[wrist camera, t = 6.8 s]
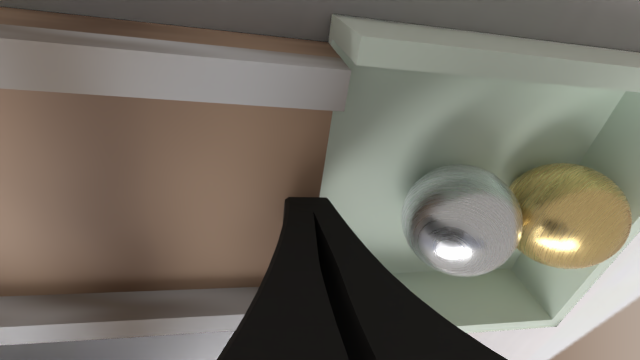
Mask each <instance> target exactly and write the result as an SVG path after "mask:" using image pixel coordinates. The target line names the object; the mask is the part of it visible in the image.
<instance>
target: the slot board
mask: <svg viewBox="0 0 640 360" xmlns="http://www.w3.org/2000/svg"><path fill="white" fill-rule="evenodd" d="M350 76H351V70H350V68H349V67H348V66H347V65H346V63H345V62H344V61H343V60H342V59H341V57H340V56H339V55H338V54H337V52H336V51H335V50H334V49H333V47H332V46H331V45H330V44H329V43H328V42H321V41H312V40H303V39H294V38H285V37H275V36H266V35H257V34H248V33H238V32H229V31H220V30H211V29H202V28H192V27H183V26H174V25H165V24H155V23H146V22H137V21H128V20H119V19H109V18H100V17H91V16H82V15H73V14H63V13H54V12H45V11H36V10H26V9H17V8H8V7H0V346H1V345H17V344H33V343H50V342H66V341H82V340H98V339H114V338H130V337H146V336H162V335H178V334H194V333H210V332H226V331H235V330H236V329H237V327H238V325H239V324H240V322H241V320H242V319H243V317H244V315H245V313H246V311H247V309H248V308H249V306H250V304H251V302H252V300H253V298H254V297H255V295H256V293H257V291H258V289H259V286H260V284H261V282H262V280H263V278H264V276H265V274H266V271H267V269H268V267H269V264H270V262H271V259H272V256H273V254H274V251H275V249H276V246H277V243H278V240H279V236H280V233H281V229H282V226H283V214H284V202H285V199H287V198H288V197H319V196H320V190H321V183H322V177H323V171H324V164H325V158H326V151H327V145H328V138H329V132H330V126H331V119H332V113H333V111H343V112H344V110H345V104H346V99H347V93H348V87H349V81H350Z"/></svg>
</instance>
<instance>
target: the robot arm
mask: <svg viewBox="0 0 640 360" xmlns="http://www.w3.org/2000/svg"><path fill="white" fill-rule="evenodd" d="M217 360H507V359H506V358H504V357H502V356H501V355H499V354H498V353H496V352H494V351H493V350H491V349H489V348H488V347H486V346H485V345H483V344H482V343H480V342H479V341H477V340H476V339H474V338H473V337H471V336H470V335H468V334H467V333H465V332H464V331H462V330H461V329H459V328H458V327H457V326H455V325H454V324H452V323H451V322H450V321H448V320H447V319H446V318H444V317H443V316H442V315H440V314H439V313H438V312H436V311H435V310H434V309H433V308H431V307H430V306H429V305H427V304H426V303H425V302H424V301H422V300H421V299H420V298H419V297H417V296H416V295H415V294H414V293H413V292H411V291H410V290H409V289H408V288H407V287H406V286H405V285H404V284H402V283H401V282H400V281H399V280H398V279H397V278H396V277H395V276H394V275H393V274H391V273H390V272H389V271H388V270H387V269H386V268H385V267H384V266H383V265H382V263H381V262H380V261H379V260H378V259H377V258H376V257H375V256H374V255H373V254H372V253H371V252H370V251H369V249H368V248H367V247H366V246H365V245H364V244H363V243H362V241H361V240H360V239H359V238H358V237H357V235H356V234H355V233H354V232H353V231H352V229H351V228H350V227H349V226H348V224H347V223H346V222H345V220H344V219H343V218H342V217H341V215H340V214H339V213H338V211H337V210H336V209H335V207H334V206H333V204H332V203H331V202H330V200H329V199H328V198H327V197H288V198H287V199H285V202H284V214H283V226H282V229H281V233H280V236H279V240H278V243H277V246H276V249H275V251H274V254H273V256H272V259H271V262H270V264H269V267H268V269H267V271H266V274H265V276H264V278H263V280H262V282H261V284H260V286H259V289H258V291H257V293H256V295H255V297H254V298H253V300H252V302H251V304H250V306H249V308H248V309H247V311H246V313H245V315H244V317H243V319H242V320H241V322H240V324H239V325H238V327H237V329H236V330H235V332H234V333H233V335H232V337H231V338H230V340H229V341H228V343H227V344H226V346H225V348H224V349H223V351H222V352H221V354H220V355H219V357H218V359H217Z"/></svg>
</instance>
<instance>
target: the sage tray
mask: <svg viewBox="0 0 640 360" xmlns="http://www.w3.org/2000/svg"><path fill="white" fill-rule="evenodd" d="M328 43H329V44H330V45H331V46H332V47H333V49H334V50H335V51H336V52H337V54H338V55H339V56H340V57H341V59H342V60H343V61H344V62H345V63H346V65H347V66H348V67H349V68H350V70H351V76H350V81H349V87H348V93H347V99H346V104H345V110H344V112H343V111H333V113H332V119H331V126H330V132H329V138H328V145H327V151H326V158H325V164H324V171H323V177H322V183H321V190H320V196H319V197H327V198H328V199H329V200H330V202H331V203H332V204H333V206H334V207H335V209H336V210H337V211H338V213H339V214H340V215H341V217H342V218H343V219H344V220H345V222H346V223H347V224H348V226H349V227H350V228H351V229H352V231H353V232H354V233H355V234H356V235H357V237H358V238H359V239H360V240H361V241H362V243H363V244H364V245H365V246H366V247H367V248H368V249H369V251H370V252H371V253H372V254H373V255H374V256H375V257H376V258H377V259H378V260H379V261H380V262H381V263H382V265H383V266H384V267H385V268H386V269H387V270H388V271H389V272H390V273H391V274H393V275H394V276H395V277H396V278H397V279H398V280H399V281H400V282H401V283H402V284H404V285H405V286H406V287H407V288H408V289H409V290H410V291H411V292H413V293H414V294H415V295H416V296H417V297H419V298H420V299H421V300H422V301H424V302H425V303H426V304H427V305H429V306H430V307H431V308H433V309H434V310H435V311H436V312H438V313H439V314H440V315H442V316H443V317H444V318H446V319H447V320H448V321H450V322H451V323H452V324H454V325H455V326H457V327H458V328H459V329H461V330H462V331H464V332H465V333H477V332H491V331H504V330H518V329H531V328H545V327H557V325H558V324H559V323H560V322H561V321H562V320H563V319H564V317H565V316H566V315H567V314H568V313H569V312H570V311H571V309H572V308H573V307H574V306H575V305H576V304H577V303H578V301H579V300H580V299H581V298H582V297H583V296H584V295H585V293H586V292H587V291H588V290H589V289H590V288H591V287H592V285H593V284H594V283H595V282H596V281H597V280H598V279H599V277H600V276H601V275H602V274H603V273H604V272H605V271H606V269H607V268H608V267H609V266H610V265H611V264H612V263H613V261H614V260H615V259H616V258H617V257H618V256H619V255H620V253H621V252H622V251H623V250H624V249H625V248H626V247H627V245H628V244H629V243H630V242H631V241H632V240H633V239H634V237H635V236H636V235H637V234H638V233H639V232H640V53H639V52H631V51H623V50H615V49H607V48H599V47H592V46H584V45H576V44H568V43H560V42H552V41H544V40H536V39H528V38H520V37H512V36H504V35H496V34H488V33H480V32H472V31H464V30H457V29H449V28H441V27H433V26H425V25H417V24H409V23H401V22H393V21H385V20H377V19H369V18H361V17H353V16H345V15H337V14H332V17H331V25H330V32H329V40H328ZM553 163H570V164H577V165H582V166H586V167H589V168H592V169H594V170H596V171H598V172H600V173H602V174H603V175H605V176H607V177H608V178H610V179H611V180H612V181H613V182H614V183H616V185H617V186H618V187H619V188H620V189H621V190H622V192H623V193H624V195H625V196H626V198H627V200H628V203H629V205H630V209H631V213H632V225H631V230H630V233H629V236H628V238H627V240H626V242H625V244H624V245H623V246H622V248H621V249H620V250H619V251H618V252H617V253H616V254H614V255H613V256H612V257H610V258H609V259H607V260H605V261H604V262H602V263H599V264H596V265H594V266H590V267H586V268H579V269H562V268H555V267H551V266H547V265H544V264H541V263H539V262H536V261H534V260H532V259H530V258H529V257H527V256H526V255H524V254H523V253H522V252H520V251H519V250H518V249H517V248H516V250H515V251H514V253H513V254H512V256H511V257H510V258H509V259H508V260H507V261H506V262H505V263H504V264H502V265H501V266H500V267H498V268H497V269H495V270H493V271H491V272H489V273H486V274H483V275H479V276H473V277H457V276H451V275H447V274H444V273H441V272H439V271H437V270H434V269H432V268H431V267H429V266H428V265H426V264H425V263H423V262H422V261H421V260H420V259H419V258H418V257H417V256H416V255H415V254H414V252H413V251H412V250H411V248H410V247H409V245H408V243H407V241H406V239H405V236H404V233H403V229H402V222H401V214H402V207H403V203H404V200H405V198H406V195H407V193H408V192H409V190H410V189H411V187H412V186H413V185H414V184H415V182H416V181H418V180H419V179H420V178H421V177H422V176H424V175H425V174H427V173H428V172H430V171H432V170H434V169H437V168H440V167H443V166H448V165H456V164H462V165H471V166H475V167H479V168H482V169H485V170H487V171H489V172H491V173H493V174H494V175H496V176H497V177H499V178H500V179H501V180H502V181H503V182H505V183H506V184H507V185H508V187H509V186H510V185H511V184H512V183H513V182H514V181H515V180H516V179H517V178H518V177H519V176H521V175H522V174H523V173H525V172H527V171H529V170H531V169H533V168H536V167H539V166H542V165H546V164H553Z"/></svg>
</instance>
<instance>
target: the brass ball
mask: <svg viewBox="0 0 640 360" xmlns="http://www.w3.org/2000/svg"><path fill="white" fill-rule="evenodd" d="M509 188H510V189H511V190H512V192H513V193H514V195H515V196H516V198H517V200H518V202H519V205H520V208H521V212H522V217H523V228H522V235H521V239H520V242H519V244H518V246H517V249H518V250H519V251H520V252H522V253H523V254H524V255H526V256H527V257H529V258H530V259H532V260H534V261H536V262H539V263H541V264H544V265H547V266H551V267H555V268H562V269H579V268H586V267H590V266H594V265H596V264H599V263H602V262H604V261H605V260H607V259H609V258H610V257H612V256H613V255H614V254H616V253H617V252H618V251H619V250H620V249H621V248H622V246H623V245H624V244H625V242H626V240H627V238H628V236H629V233H630V230H631V225H632V213H631V209H630V205H629V203H628V200H627V198H626V196H625V195H624V193H623V192H622V190H621V189H620V188H619V187H618V186H617V185H616V183H614V182H613V181H612V180H611V179H610V178H608V177H607V176H605V175H603V174H602V173H600V172H598V171H596V170H594V169H592V168H589V167H586V166H582V165H577V164H570V163H553V164H546V165H542V166H539V167H536V168H533V169H531V170H529V171H527V172H525V173H523V174H522V175H521V176H519V177H518V178H517V179H516V180H515V181H514V182H513V183H512V184H511V185H510V186H509Z"/></svg>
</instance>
